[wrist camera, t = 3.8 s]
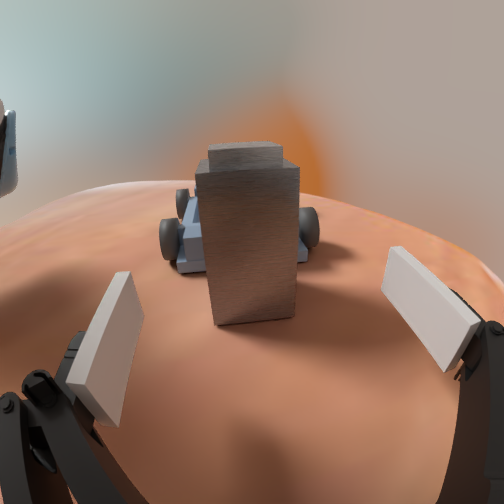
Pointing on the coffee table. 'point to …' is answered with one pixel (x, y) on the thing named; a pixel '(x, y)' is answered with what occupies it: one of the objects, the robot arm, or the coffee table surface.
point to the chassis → (190, 239)
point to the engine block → (249, 230)
